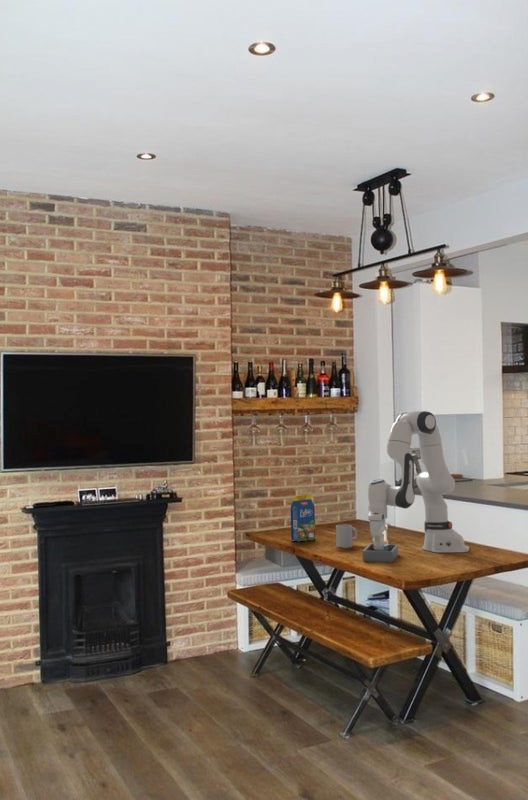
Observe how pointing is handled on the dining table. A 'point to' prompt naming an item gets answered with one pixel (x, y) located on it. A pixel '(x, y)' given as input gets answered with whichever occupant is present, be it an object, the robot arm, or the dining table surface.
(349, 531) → the mug
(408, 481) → the robot arm
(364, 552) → the tote
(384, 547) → the block
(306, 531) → the blue food package
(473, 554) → the dining table surface
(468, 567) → the dining table surface
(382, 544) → the canister
